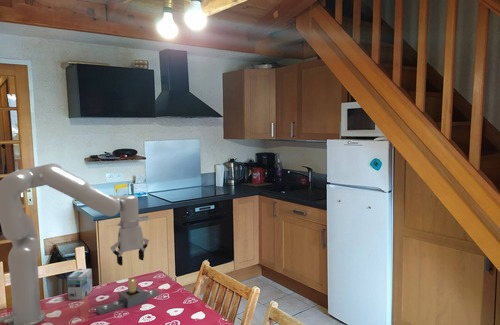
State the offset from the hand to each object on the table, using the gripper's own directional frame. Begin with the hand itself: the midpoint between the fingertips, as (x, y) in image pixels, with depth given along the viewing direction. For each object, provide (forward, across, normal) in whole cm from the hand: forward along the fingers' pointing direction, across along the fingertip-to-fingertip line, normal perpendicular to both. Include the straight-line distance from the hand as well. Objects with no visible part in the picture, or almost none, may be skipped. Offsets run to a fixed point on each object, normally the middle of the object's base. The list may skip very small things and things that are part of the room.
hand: (130, 262), depth 163 cm
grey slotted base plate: (+18, -2, 0) cm, 18 cm away
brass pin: (+18, 0, 0) cm, 18 cm away
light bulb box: (+18, -14, +24) cm, 33 cm away
